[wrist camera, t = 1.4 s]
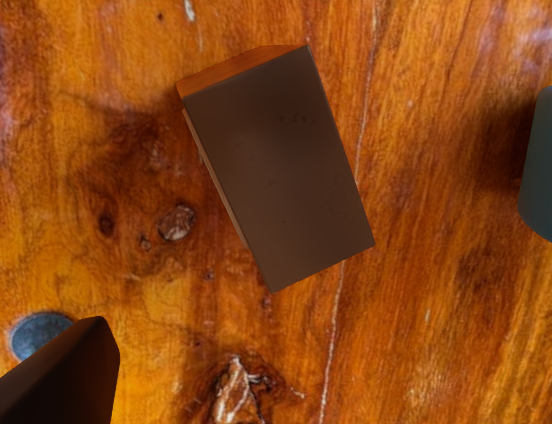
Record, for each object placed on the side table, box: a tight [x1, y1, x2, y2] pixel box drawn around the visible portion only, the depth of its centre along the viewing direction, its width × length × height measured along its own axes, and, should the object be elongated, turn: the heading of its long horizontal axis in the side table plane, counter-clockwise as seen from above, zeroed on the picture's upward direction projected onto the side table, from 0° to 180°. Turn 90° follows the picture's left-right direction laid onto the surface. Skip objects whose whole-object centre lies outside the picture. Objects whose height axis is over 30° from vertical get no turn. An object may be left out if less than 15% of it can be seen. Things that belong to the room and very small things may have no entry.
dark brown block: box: [175, 44, 375, 294], centre depth 18 cm, size 4×7×7 cm, turn 22°
